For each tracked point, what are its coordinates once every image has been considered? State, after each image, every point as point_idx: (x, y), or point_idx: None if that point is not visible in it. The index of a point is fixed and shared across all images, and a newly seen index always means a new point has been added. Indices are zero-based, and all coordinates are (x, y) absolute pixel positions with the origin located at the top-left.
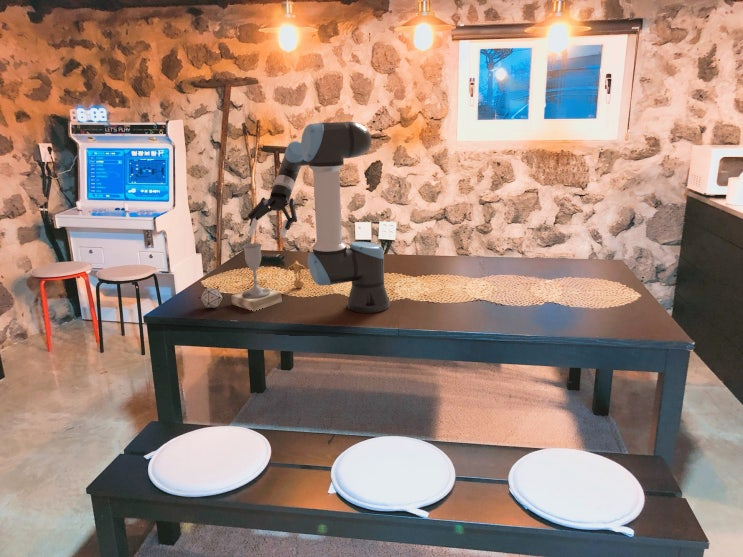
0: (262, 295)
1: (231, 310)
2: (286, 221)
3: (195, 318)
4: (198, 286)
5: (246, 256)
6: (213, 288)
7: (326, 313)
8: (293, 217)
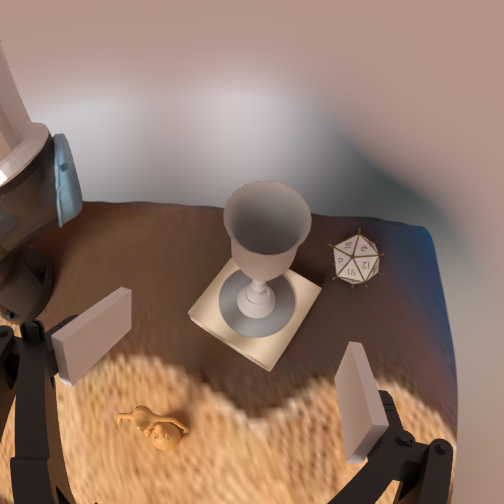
0: (232, 279)
1: (299, 259)
2: (59, 334)
3: (349, 218)
4: (450, 411)
5: (281, 214)
6: (361, 254)
7: (92, 248)
8: (2, 326)
